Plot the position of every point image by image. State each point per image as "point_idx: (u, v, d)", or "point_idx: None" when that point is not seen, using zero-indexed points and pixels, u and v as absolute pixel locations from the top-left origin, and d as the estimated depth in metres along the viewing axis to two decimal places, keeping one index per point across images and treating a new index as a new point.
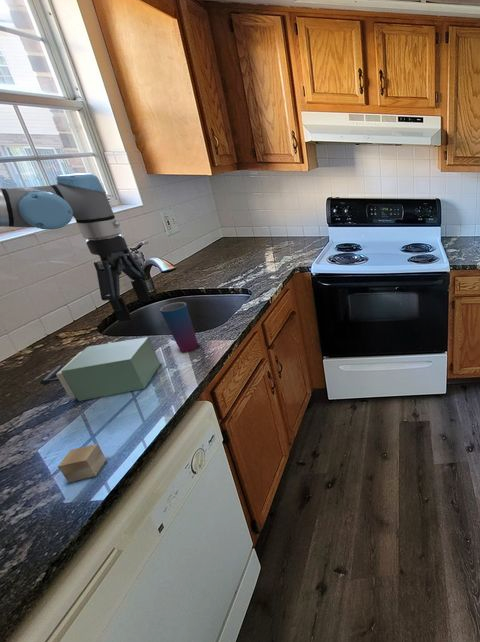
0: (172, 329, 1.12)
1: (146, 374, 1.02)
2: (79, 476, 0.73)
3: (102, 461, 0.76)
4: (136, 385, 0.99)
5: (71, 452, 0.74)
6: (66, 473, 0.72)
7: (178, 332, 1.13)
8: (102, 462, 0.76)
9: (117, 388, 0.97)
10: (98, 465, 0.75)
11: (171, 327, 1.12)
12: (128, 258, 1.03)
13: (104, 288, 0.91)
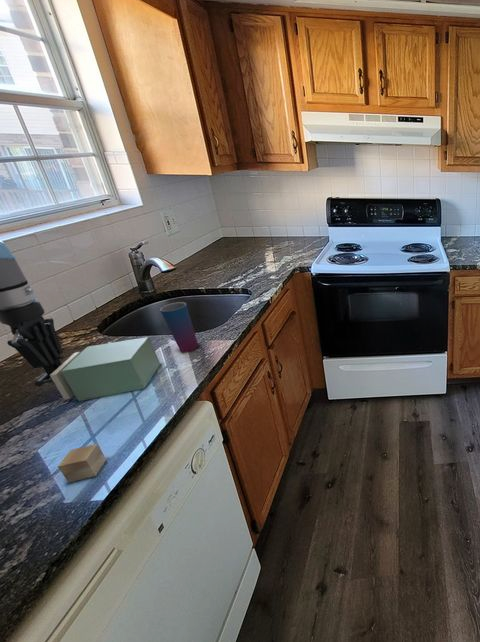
0: (172, 329, 1.12)
1: (146, 374, 1.02)
2: (79, 476, 0.73)
3: (102, 461, 0.76)
4: (136, 385, 0.99)
5: (71, 452, 0.74)
6: (66, 473, 0.72)
7: (178, 332, 1.13)
8: (102, 462, 0.76)
9: (117, 388, 0.97)
10: (98, 465, 0.75)
11: (171, 327, 1.12)
12: (48, 329, 0.96)
13: (32, 360, 0.90)
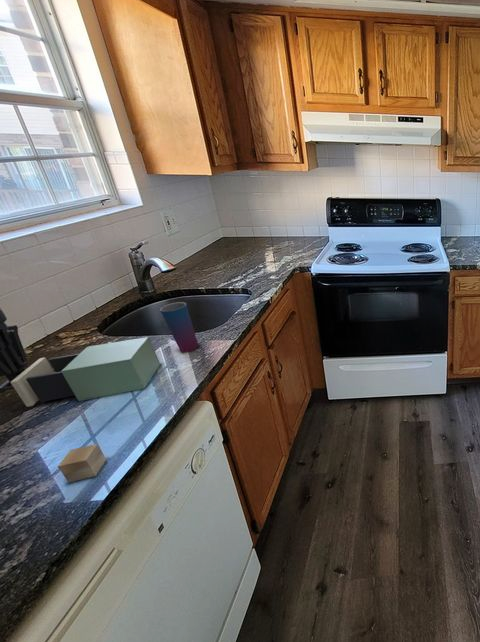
0: (172, 329, 1.12)
1: (146, 374, 1.02)
2: (79, 476, 0.73)
3: (102, 461, 0.76)
4: (136, 385, 0.99)
5: (71, 452, 0.74)
6: (66, 473, 0.72)
7: (178, 332, 1.13)
8: (102, 462, 0.76)
9: (117, 388, 0.97)
10: (98, 465, 0.75)
11: (171, 327, 1.12)
12: (11, 336, 0.94)
13: None
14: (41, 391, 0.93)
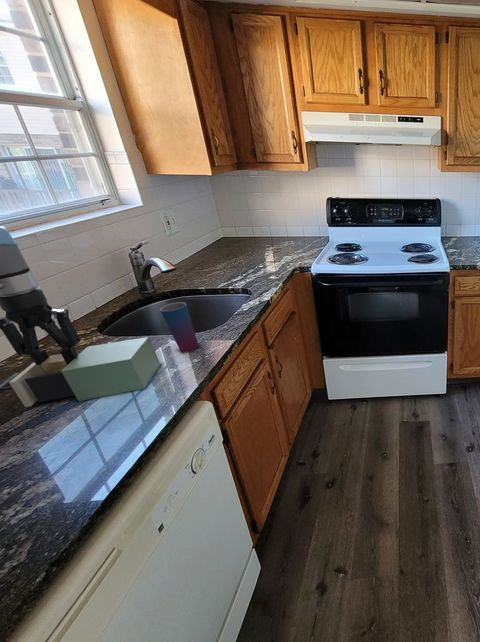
0: (172, 329, 1.12)
1: (146, 374, 1.02)
2: None
3: None
4: (136, 385, 0.99)
5: (51, 356, 0.96)
6: (47, 370, 0.94)
7: (178, 332, 1.13)
8: None
9: (117, 388, 0.97)
10: None
11: (171, 327, 1.12)
12: None
13: None
14: (40, 392, 0.93)
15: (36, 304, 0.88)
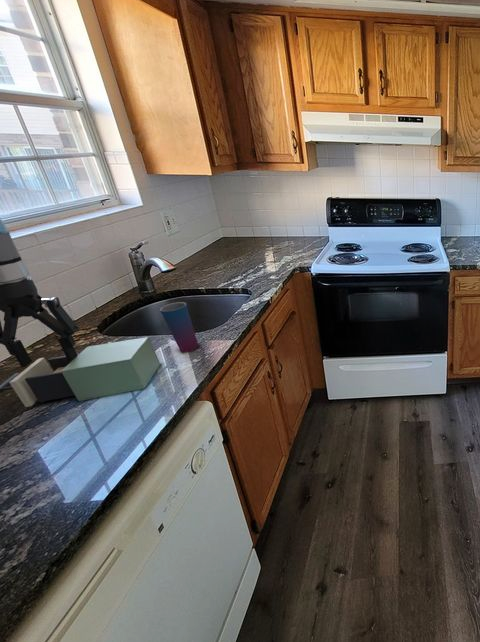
0: (172, 329, 1.12)
1: (146, 374, 1.02)
2: None
3: None
4: (136, 385, 0.99)
5: (58, 369, 0.98)
6: None
7: (178, 332, 1.13)
8: None
9: (117, 388, 0.97)
10: None
11: (171, 327, 1.12)
12: None
13: None
14: (40, 392, 0.93)
15: (26, 294, 0.87)
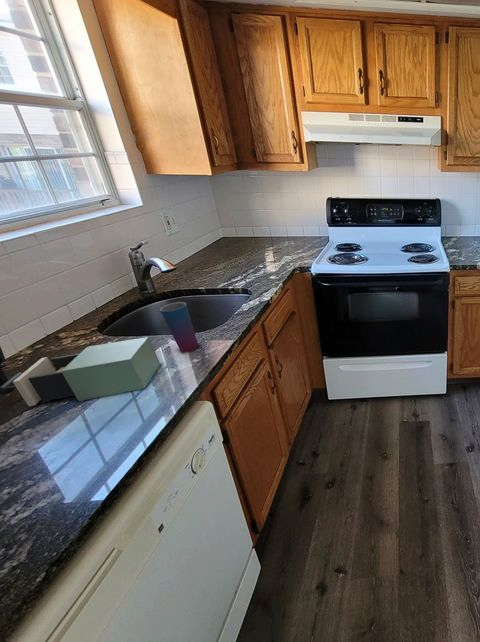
0: (172, 329, 1.12)
1: (146, 374, 1.02)
2: None
3: None
4: (136, 385, 0.99)
5: (61, 368, 0.98)
6: None
7: (178, 332, 1.13)
8: None
9: (117, 388, 0.97)
10: None
11: (171, 327, 1.12)
12: None
13: None
14: (43, 391, 0.93)
15: None
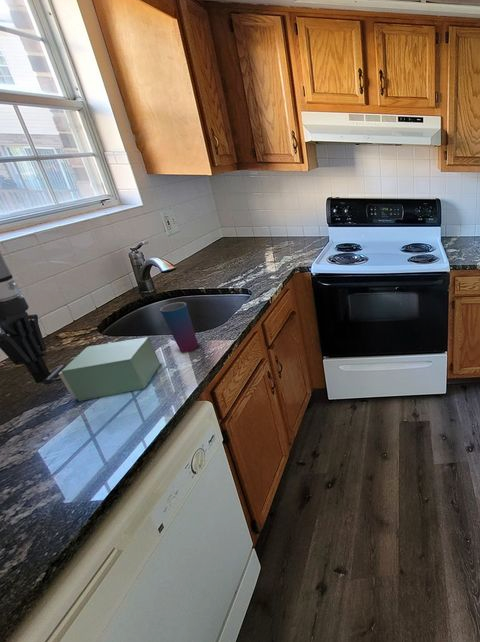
0: (172, 329, 1.12)
1: (146, 374, 1.02)
2: None
3: None
4: (136, 385, 0.99)
5: None
6: None
7: (178, 332, 1.13)
8: None
9: (117, 388, 0.97)
10: None
11: (171, 327, 1.12)
12: (31, 325, 0.94)
13: (14, 356, 0.88)
14: None
15: None
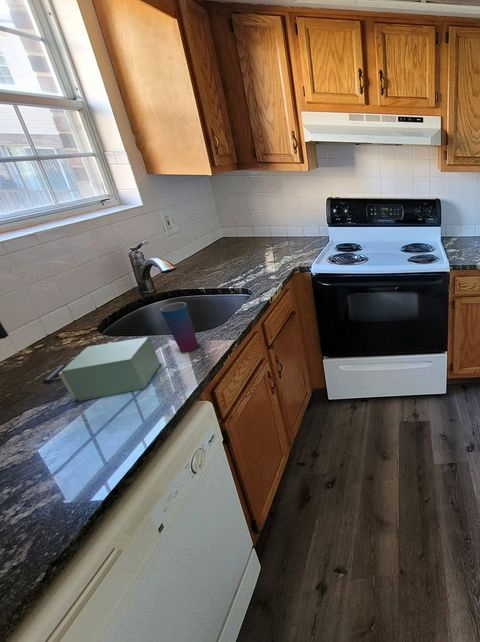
0: (172, 329, 1.12)
1: (146, 374, 1.02)
2: None
3: None
4: (136, 385, 0.99)
5: None
6: None
7: (178, 332, 1.13)
8: None
9: (117, 388, 0.97)
10: None
11: (171, 327, 1.12)
12: None
13: None
14: None
15: None
